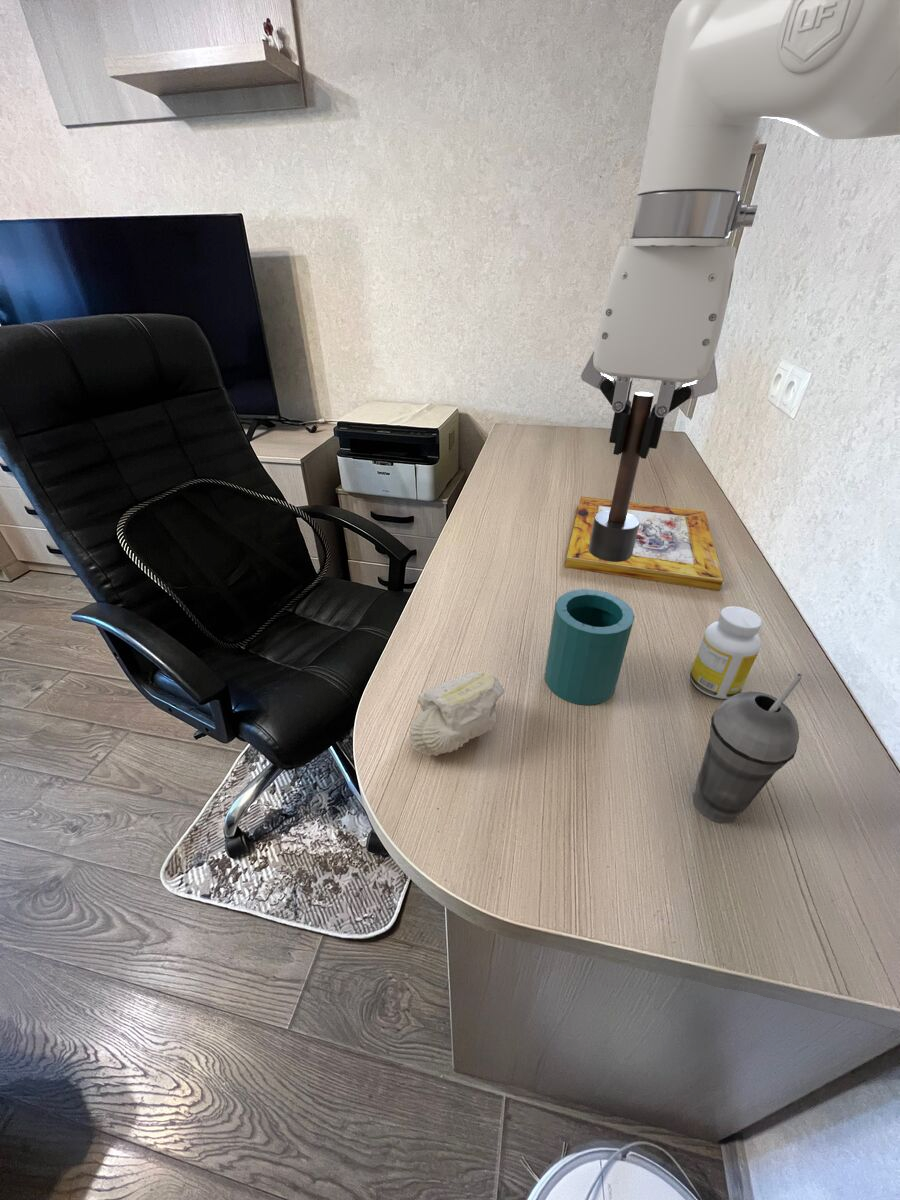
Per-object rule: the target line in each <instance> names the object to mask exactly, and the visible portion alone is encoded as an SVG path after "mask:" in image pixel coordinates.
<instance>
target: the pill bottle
mask: <svg viewBox="0 0 900 1200" xmlns="http://www.w3.org/2000/svg"><path fill="white" fill-rule="evenodd" d="M762 624H763V620H762V618H761V617H760V615H759V614H757V613H756V612H755V611H752V609H751V610H750V609H748V608H746V607H743V606H742V607H741V606H734V605H733V606H732V605H729V606H726V607H723V608H722V609H721V610H720V613H719V615H718V618H717V621H714V622H712V623H710V624H709V625H708V626H707V628H706V629H705V631H704V634H703V636H702V639H701V642H700V645H699V647H698V651H697V653H696V656H695V659H694V662H693V664H692V667H691V670H690V673H689V674H690V675H689V677H690V680H691V683H692V685H694V687H695V688H696V689H697V690H699V691H700V692H702V693H703V694H705V695H707V696H709V697H712V698H716V699H721V700H722V699H724V700H727V699H728V698H730V697H732V696H733V695H736V694H738V693H741V691H742V689H743V687H744V685H745V683H746V680H747V679H748V676H749V674H750V672H751V670H752V667H753V665H754V664H755V661H756V658H757V657H758V654H759V652H760V650H761V647H762V642H761V641H762V640H761V638H760V636H759V635H758V633H760V629H761V627H762Z"/></svg>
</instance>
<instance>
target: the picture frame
mask: <svg viewBox="0 0 900 1200" xmlns="http://www.w3.org/2000/svg"><path fill="white" fill-rule="evenodd" d="M611 504H612V499H606V498H597V497H591V496H590V497H589V496H580V499H579V503H578V506H577V512H576V515H575V520H574V524H573V529H572V533H571V535H570V536H571V537H570V541H569V545H568V551H567V553H566V559H565V564H564V565H565V566H564V567H565V568H569V569H574V570H582V571H589V572H595V573H600V574H609V575H613V576H620V577H627V578H635V579H640V580H646V581H653V582H660V583H667V584H672V585H680V586H685V587H692V588H698V589H704V590H712V591H718V592H719V591H720V590H721V588H722V584H723V582H724V579H723V575H722V574H723V573H722V571H721V567H720V563H719V559H718V555H717V552H716V548H715V544H714V539H713V536H712V532H711V529H710V525H709V521H708V516H707V514H706V511H705V510H698V509H689V508H681V507H672V506H666V505H665V506H664V505H655V504H647V503H640V502H631V501H630V503H629V507H628V512H627V513H628V514H631V515H633V516H635V517H636V518H637V519H638V520H639V522H640V524H639V529H638V533H637V537H636V541H635V545H634V549H633V553H632V556H631V558H630V559H628V560H626V561H622V562H609V561H604V560H601V559H598V558H596V557H595V556H593V555H592V554H591V553H590V552H589V543H590V538H591V532H592V527H593V522H594V517H595V515H596V514H597V513H599V512H602V511H610V508H611Z"/></svg>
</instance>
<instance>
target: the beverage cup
mask: <svg viewBox="0 0 900 1200" xmlns="http://www.w3.org/2000/svg"><path fill="white" fill-rule="evenodd" d="M803 677H804V675H803V674H802V673H801V672H797V673H796V674H795V676H793V678H792V679H791V681H790V682H789V683H788V685H786V687H785V688H784V690H783V691H782V692H781V694H780V695H779V696H778V697H776V696H773V695H771V694H769V693H765V692H761V691H752V690H751V691H749V690H748V691H744V692H740V693H738V694H736V695H733V696H732V697H730V698H728V699H724V701H723V702H721V704H720V705H719V707H718V708H716V710H715V711H714V712H713V713H712V716H711V719H710V720H711V721H710V728H709V739H708V742H707V745H706V749H705V752H704V756H703V759H702V761H701V765H700V769H699V771H698V775H697V779H696V782H695V784H694V785H695V788H694V792H693V794H692V795H693V796H692V797H693V798H692V801H693V804H694V806H695V808H696V809H697V810H698V812H699V813H700V814H701V815H702V816H703V817H705V818H707V819H708V820H709V821H711V822H714V823H717V824H723V825H727V824H732V823H734V822H735V821H736V820H737V819H738V817H740V816H741V815H742V814H743V813H744V812H745V811H746V810H747V808H748V807H750V804H751V803H752V802H753V801H754V800H755V799H756V797H757V796H758V795H759V794H760V792H761V791H762V789H764V787H765V786H766V785H767V783H768V782H769V781H770V780H771V778H772V777H773V776H774V775H775V774H776V773H777V772H778V771H779V770H780V769H782V768H783V767H784V766H785V765H786V764H787V763H789V762H790V761H791V760H793V759H794V758H795V756H796V753H797V751H798V745H799V741H800V730H799V725H798V721H797V718H796V717H795V715H794V713H793V712H792V710H791V708H789V707H788V706H787V705H786V704H785V703H784V702H785V701H786V700H787V698H788V697H789V696H790V695H791V693H792V692H793V691H794V689H795V688H796V687H797V685H798V684H799V683H800V681H801V680H802V679H803Z"/></svg>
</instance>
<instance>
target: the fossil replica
mask: <svg viewBox="0 0 900 1200" xmlns="http://www.w3.org/2000/svg"><path fill="white" fill-rule="evenodd" d="M504 693H505V688H504V686H503V685H502V684H501V682H500V681H499V680H498V678H497V677H496V676H495V675H494V674H493V673H489V672H481V671H473V672H469V673H467V674H464V675H461V676H458V677H455V678H453V679H450V680H448V681H445V682H441V683H438V684H436V685H434V686H431V687H429V688H427V689H425V691H423V692H422V693H419V694H418V696H417V697H418V698H417V703H418V705H419V706H420V710H421V712H420V713H418V715H417V716H416V718H414V719H413V721H412V722H411V724H410V729H409V739H410V745H411V746H412V747H413V749H414V750H416V751H418V752H419V754H421V755H424V754H425V755H426V756H428V757H430V756H435V757H438V756H439V755H441V754H444V755H445V754H446V753H452V752H453V751H458V749H459V747H460V748H463V746H464V744H466V743H469V741H470V740H472V739H475V738H476V737H480V736H482V735H484V734H486V733H487V732H490V731H491V730H493V729H494V727H495V726H496V724H497V722H496V721H497V711H496V706H497V701H498V700H499V699H500V697H502V696H503V695H504Z"/></svg>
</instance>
